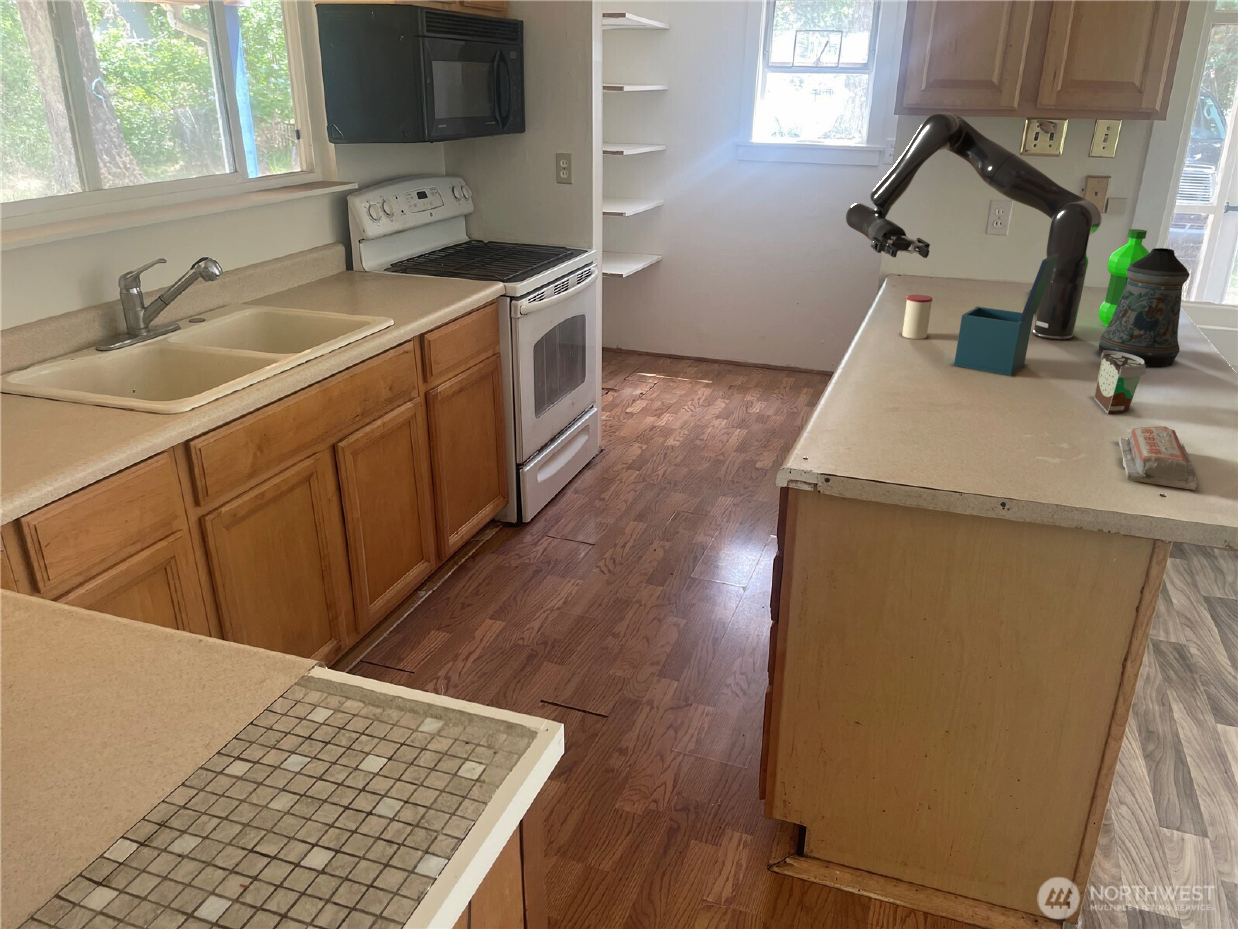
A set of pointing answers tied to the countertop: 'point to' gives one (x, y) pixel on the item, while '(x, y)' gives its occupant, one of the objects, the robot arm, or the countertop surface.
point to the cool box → (993, 340)
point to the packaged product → (1157, 458)
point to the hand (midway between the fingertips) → (911, 253)
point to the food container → (1118, 381)
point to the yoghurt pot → (917, 316)
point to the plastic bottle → (1121, 271)
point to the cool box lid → (1039, 287)
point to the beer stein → (1149, 310)
